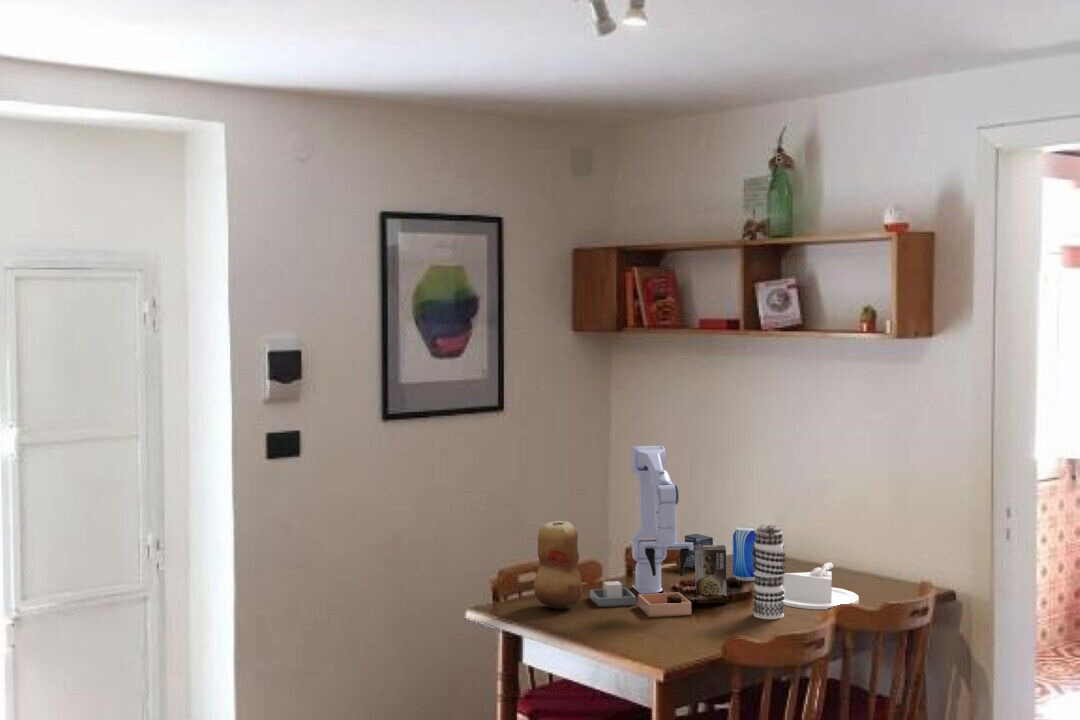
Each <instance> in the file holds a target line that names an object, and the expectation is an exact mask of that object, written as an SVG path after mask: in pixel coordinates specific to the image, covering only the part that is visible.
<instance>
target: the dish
mask: <svg viewBox="0 0 1080 720" xmlns="http://www.w3.org/2000/svg"><path fill="white" fill-rule="evenodd" d="M833 568H834V564H833V562H831V561H829V562H826V563H824V564H823V565H822V567H815V568H813V570H810V571H809V572H786V573H784V575H783V581H782V584H783V591H784V594H783V595H782V596H784V600H782V601H783V603H784V604H785V605H784V606H787V607H792V608H798V609H806V610H828V608H830V607H833V606H837V605H840V604H850V603H852V604H856V605H857V604H859V602H860V598H859V595H858V594H857V593H855V592H853V591H850V590H847V589H844V588H839V587H833V586H832V584H833V583H832V580H833V578H832V573H833V572H832V571H830V570H831V569H833Z"/></svg>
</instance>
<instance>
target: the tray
mask: <svg viewBox="0 0 1080 720" xmlns="http://www.w3.org/2000/svg"><path fill="white" fill-rule="evenodd" d="M589 599H590V600H591V601H592V602H593V604H594V605H596V606H597V608H609V607H610V608H611V607H612V608H613V607H614V608H615V607H633V606H634V607H635V606H637V596H635V594H634V593H633V592H632V591H630V590H629V589H628V588H627V587H622V597H614V598H604V595H603V588H601V589H600V588H599V589H589Z"/></svg>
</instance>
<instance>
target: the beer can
mask: <svg viewBox="0 0 1080 720" xmlns="http://www.w3.org/2000/svg"><path fill="white" fill-rule="evenodd" d="M757 529H758V528H757V527H755V526H747V525H746V526H737V527H735V531H734V532H733V535H732V575H733V577H734V579H735V578H736V580H737V579H738V580H737V581H740V580H741V581H742V582H753V581H754V582H755V574H754V570H755V569H754V567H753V563H754V562H753V558H754V557H755V556H754V555H753V554H752V551H753V549H752V546H753V545H755V532H754V531H756V530H757ZM755 553H756V552H755Z"/></svg>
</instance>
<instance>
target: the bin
mask: <svg viewBox="0 0 1080 720" xmlns="http://www.w3.org/2000/svg"><path fill="white" fill-rule="evenodd" d="M677 594H678V595H679V596H680V597H681V600H682V601H681V603H667V597H668V596H670V595H677ZM637 605H638V606H637V607H638V608H639V609H641V611H642V612H643V613H644V614H645V615H646V616H648V617H649V618H655V617H656V618H657V617H658V618H659V617H661V618H662V617H677V616H678V617H679V616H692V602H691V601H690V600H689V599H688V598H687V597H686V596H684V595H683V594H682V593H681V592H678V591H675V592H663V593H644V594H640V593H638V594H637Z"/></svg>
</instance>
